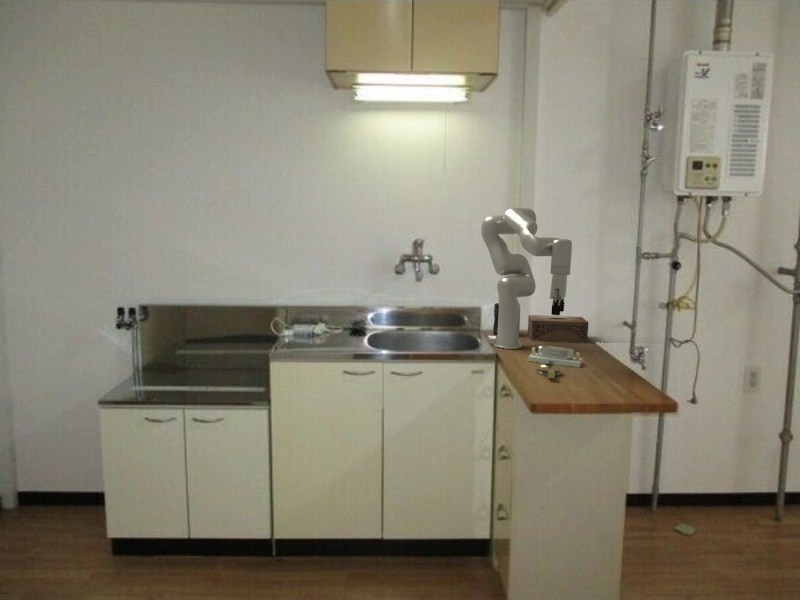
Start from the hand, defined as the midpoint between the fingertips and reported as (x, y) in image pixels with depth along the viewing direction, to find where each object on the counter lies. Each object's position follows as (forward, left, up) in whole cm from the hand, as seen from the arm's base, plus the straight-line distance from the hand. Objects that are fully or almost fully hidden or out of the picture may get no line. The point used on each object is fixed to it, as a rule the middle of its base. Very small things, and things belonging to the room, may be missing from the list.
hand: (557, 313), depth 245 cm
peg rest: (0, 0, -20) cm, 20 cm away
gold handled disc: (+1, -22, -19) cm, 29 cm away
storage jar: (-32, +43, -20) cm, 57 cm away
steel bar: (0, 0, -18) cm, 18 cm away
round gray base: (+1, -18, -20) cm, 27 cm away
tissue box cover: (-7, +47, -21) cm, 52 cm away
